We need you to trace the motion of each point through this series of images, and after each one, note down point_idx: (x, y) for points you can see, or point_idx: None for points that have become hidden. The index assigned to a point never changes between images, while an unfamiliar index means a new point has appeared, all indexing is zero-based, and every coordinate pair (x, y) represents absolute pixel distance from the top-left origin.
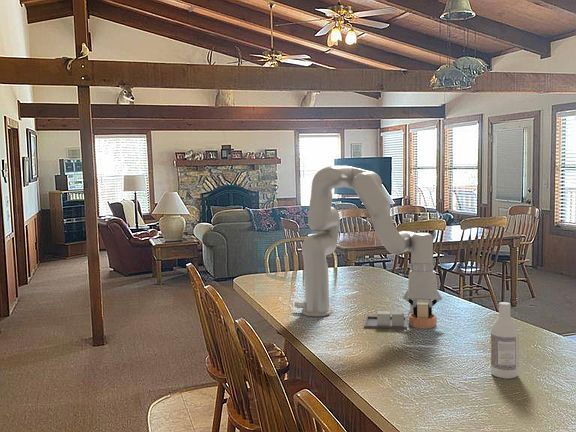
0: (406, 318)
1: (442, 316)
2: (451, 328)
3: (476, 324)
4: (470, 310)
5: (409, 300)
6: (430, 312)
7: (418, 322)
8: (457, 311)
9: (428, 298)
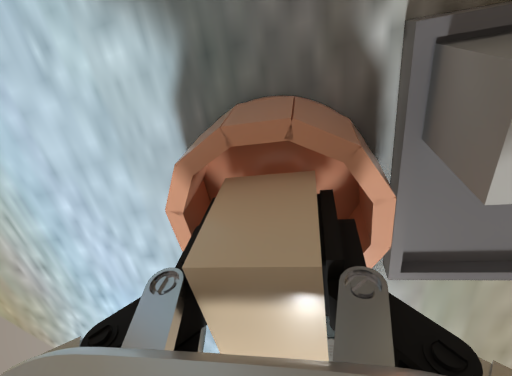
0: (393, 254)
1: None
2: (104, 155)
3: (38, 238)
4: None
5: (462, 366)
6: None
7: (301, 110)
8: None
9: (111, 365)
